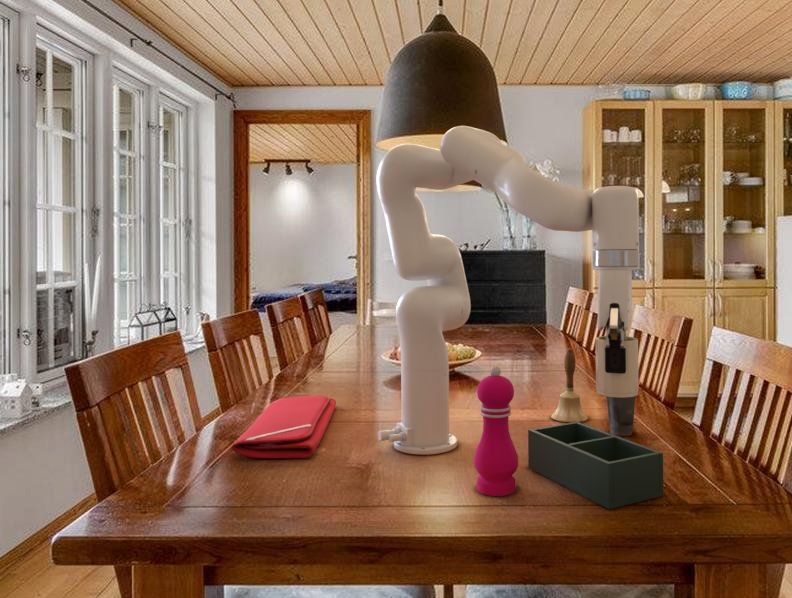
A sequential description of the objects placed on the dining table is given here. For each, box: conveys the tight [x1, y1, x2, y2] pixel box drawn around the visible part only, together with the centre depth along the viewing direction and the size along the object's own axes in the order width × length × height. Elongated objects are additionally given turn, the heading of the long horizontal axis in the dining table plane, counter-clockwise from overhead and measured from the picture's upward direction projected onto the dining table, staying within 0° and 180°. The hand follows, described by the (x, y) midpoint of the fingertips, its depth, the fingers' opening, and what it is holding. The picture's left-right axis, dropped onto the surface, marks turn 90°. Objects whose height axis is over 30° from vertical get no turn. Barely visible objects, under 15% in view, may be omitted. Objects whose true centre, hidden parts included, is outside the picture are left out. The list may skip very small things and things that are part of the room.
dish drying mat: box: [231, 395, 337, 459], centre depth 143 cm, size 16×41×4 cm, turn 5°
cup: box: [595, 335, 640, 398], centre depth 109 cm, size 7×7×9 cm
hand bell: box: [550, 348, 589, 423], centre depth 151 cm, size 8×8×16 cm
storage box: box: [527, 422, 665, 510], centre depth 111 cm, size 11×21×7 cm, turn 28°
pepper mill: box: [473, 365, 519, 497], centre depth 107 cm, size 7×7×20 cm
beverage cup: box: [606, 396, 636, 437], centre depth 139 cm, size 7×7×20 cm
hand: (616, 367), depth 109 cm, fingers closed on cup, 6 cm apart
